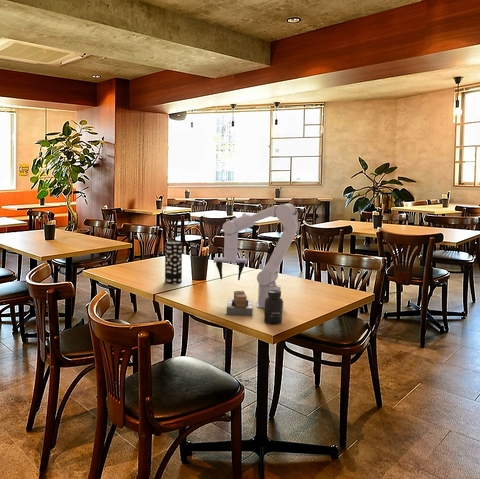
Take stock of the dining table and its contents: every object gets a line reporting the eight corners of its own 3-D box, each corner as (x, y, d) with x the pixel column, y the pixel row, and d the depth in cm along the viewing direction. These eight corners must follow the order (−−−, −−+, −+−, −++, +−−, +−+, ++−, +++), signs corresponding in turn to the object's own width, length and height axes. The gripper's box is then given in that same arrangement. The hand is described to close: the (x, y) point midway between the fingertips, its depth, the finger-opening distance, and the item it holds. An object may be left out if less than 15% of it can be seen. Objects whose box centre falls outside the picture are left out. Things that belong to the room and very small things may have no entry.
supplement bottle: (274, 326, 170) (276, 294, 168) (260, 322, 174) (261, 290, 173) (285, 322, 175) (287, 291, 173) (271, 318, 180) (272, 287, 178)
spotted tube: (179, 279, 239) (180, 241, 236) (183, 283, 231) (183, 243, 228) (163, 280, 236) (163, 241, 233) (166, 284, 228) (166, 244, 226)
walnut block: (246, 311, 184) (246, 296, 183) (236, 311, 184) (236, 296, 183) (243, 304, 193) (243, 290, 192) (233, 305, 192) (234, 290, 192)
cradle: (252, 306, 194) (252, 299, 194) (251, 315, 182) (252, 308, 181) (228, 305, 194) (228, 298, 194) (226, 314, 182) (226, 307, 182)
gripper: (247, 247, 204) (246, 277, 205) (214, 246, 204) (214, 276, 206) (247, 250, 197) (246, 281, 198) (213, 248, 197) (212, 280, 199)
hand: (230, 279), depth 202 cm, fingers open, 7 cm apart
